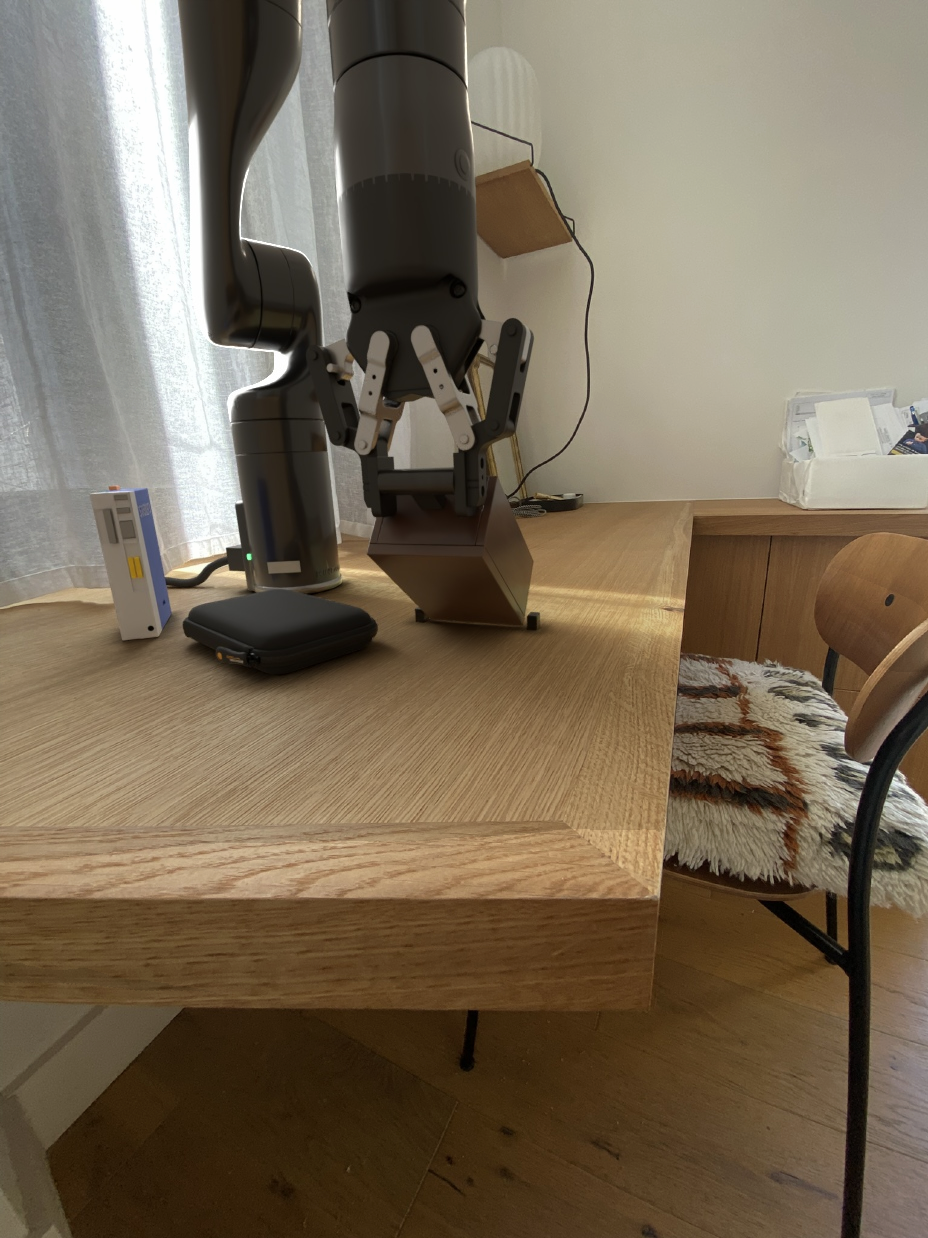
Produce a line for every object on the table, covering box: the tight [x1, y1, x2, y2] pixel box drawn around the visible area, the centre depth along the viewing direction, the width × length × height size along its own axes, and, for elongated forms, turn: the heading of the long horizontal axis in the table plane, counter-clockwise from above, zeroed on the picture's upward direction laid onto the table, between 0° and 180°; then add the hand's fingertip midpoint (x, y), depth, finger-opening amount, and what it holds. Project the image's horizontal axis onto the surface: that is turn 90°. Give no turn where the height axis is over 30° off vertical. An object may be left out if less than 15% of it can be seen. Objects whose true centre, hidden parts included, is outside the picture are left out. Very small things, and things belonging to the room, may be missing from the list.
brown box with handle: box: [366, 466, 534, 627], centre depth 40 cm, size 15×8×6 cm
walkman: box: [89, 485, 173, 641], centre depth 47 cm, size 8×3×12 cm, turn 20°
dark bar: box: [414, 606, 541, 631], centre depth 45 cm, size 10×1×1 cm, turn 70°
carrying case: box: [182, 589, 379, 675], centre depth 41 cm, size 11×3×15 cm
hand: (424, 514), depth 35 cm, fingers closed on brown box with handle, 5 cm apart
